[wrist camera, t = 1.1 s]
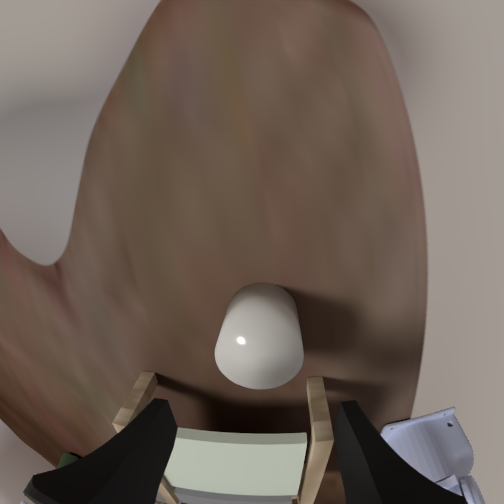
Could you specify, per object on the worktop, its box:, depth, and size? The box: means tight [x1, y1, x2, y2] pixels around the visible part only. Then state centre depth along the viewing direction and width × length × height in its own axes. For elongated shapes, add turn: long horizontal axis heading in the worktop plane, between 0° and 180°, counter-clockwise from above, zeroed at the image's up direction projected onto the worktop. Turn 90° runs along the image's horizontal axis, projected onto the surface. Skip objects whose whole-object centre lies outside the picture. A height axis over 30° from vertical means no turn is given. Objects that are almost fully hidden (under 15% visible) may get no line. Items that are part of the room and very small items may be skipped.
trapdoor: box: [164, 428, 307, 504], centre depth 17 cm, size 13×12×2 cm
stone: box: [215, 283, 304, 389], centre depth 17 cm, size 5×5×5 cm
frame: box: [112, 371, 334, 504], centre depth 20 cm, size 15×16×7 cm
